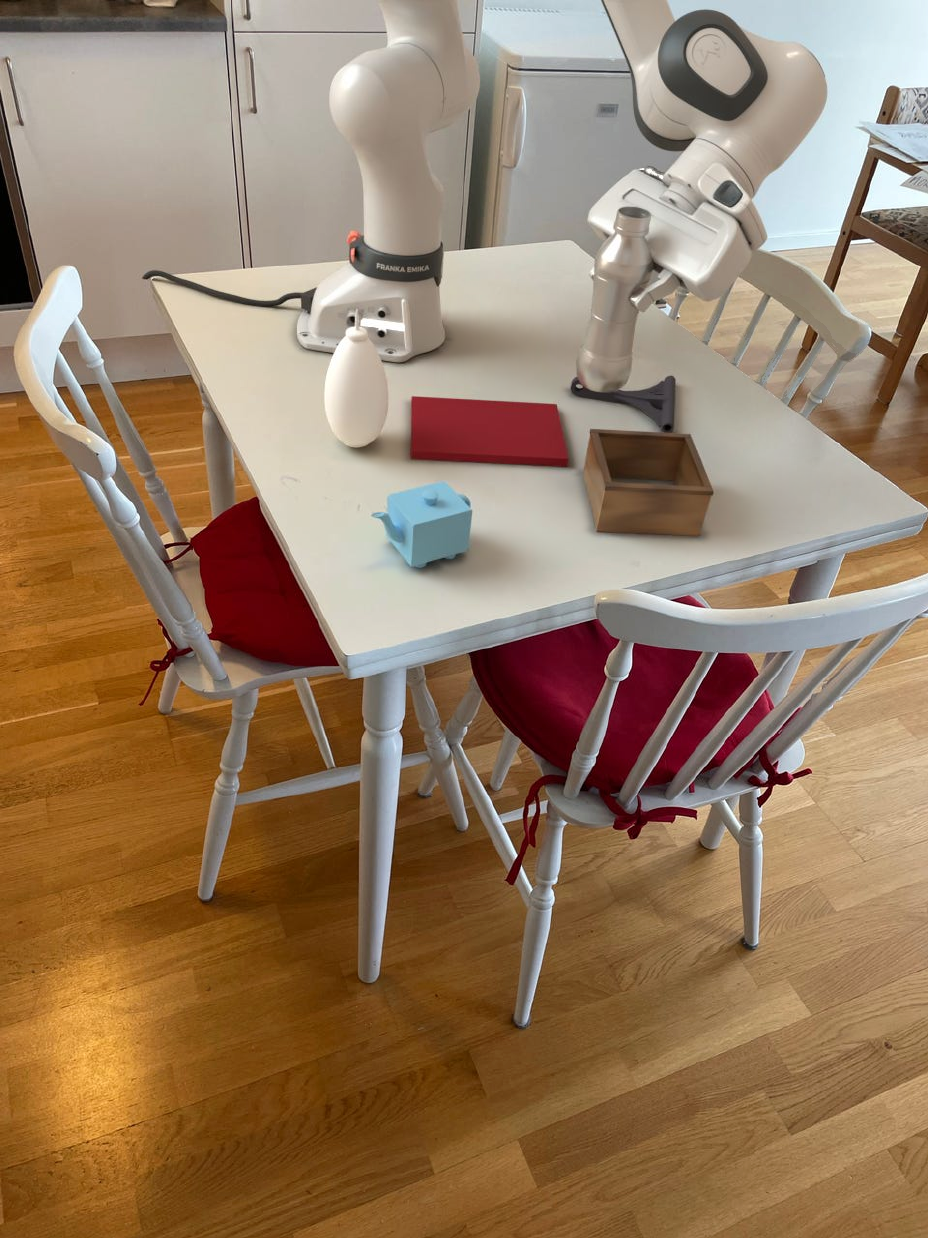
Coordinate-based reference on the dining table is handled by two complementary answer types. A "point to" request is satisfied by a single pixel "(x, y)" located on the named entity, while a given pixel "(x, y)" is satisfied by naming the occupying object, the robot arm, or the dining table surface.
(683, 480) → the wooden box
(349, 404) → the white air blower bulb
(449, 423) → the cushion mat
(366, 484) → the dining table surface
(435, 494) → the teapot
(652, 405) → the squeegee
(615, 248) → the metal bottle
